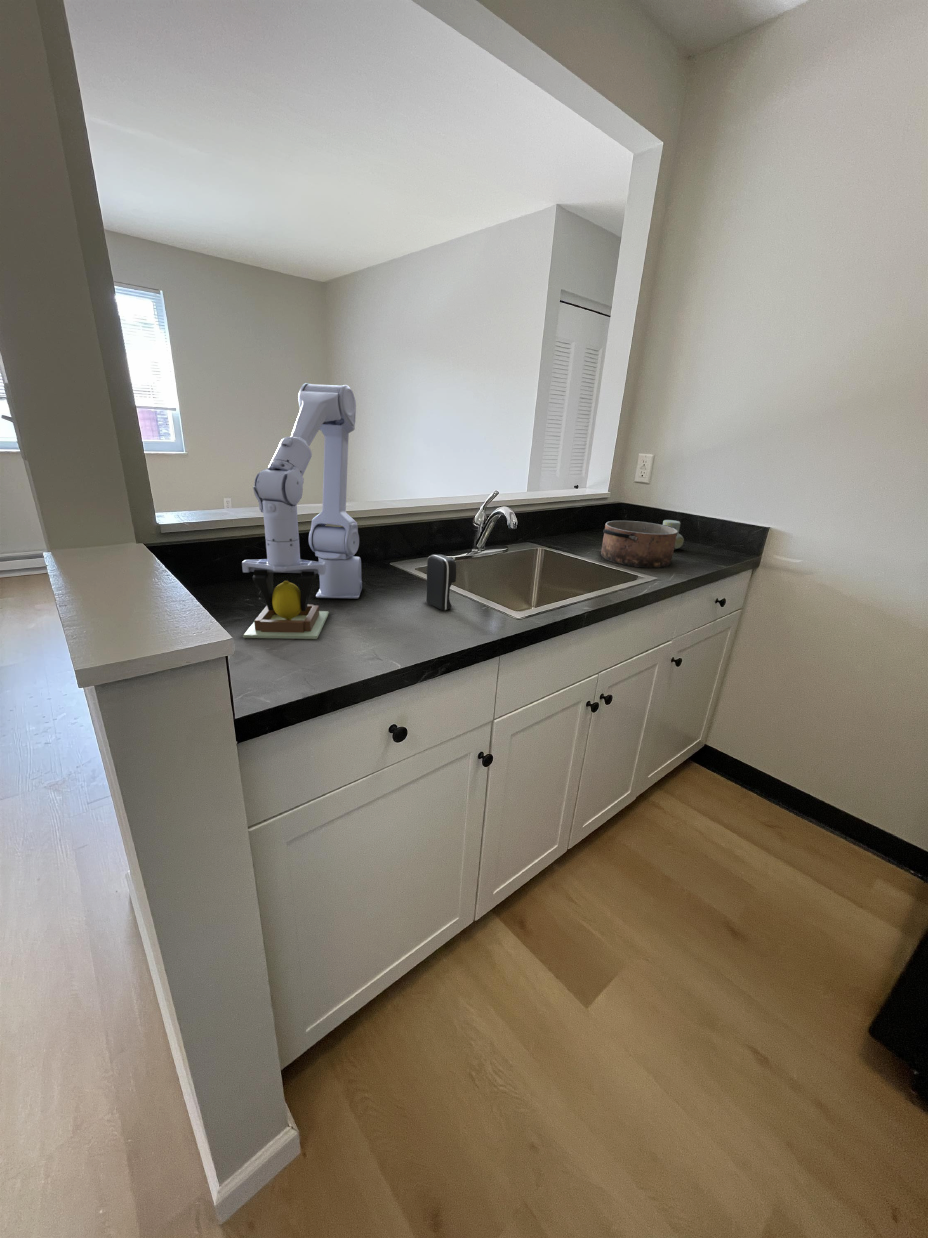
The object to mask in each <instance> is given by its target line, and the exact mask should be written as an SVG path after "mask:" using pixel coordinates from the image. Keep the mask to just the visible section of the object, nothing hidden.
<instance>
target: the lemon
mask: <svg viewBox="0 0 928 1238" xmlns="http://www.w3.org/2000/svg"><path fill="white" fill-rule="evenodd" d="M272 606H273V609H274V611H275V612H276V614H277V615H279V616H280V617H282V618H285V619H286V620H291V619H292V618H293V617H296V616H297V615H298V614H299V613H300V611H301V593H300V587H299V586H297V585H296V584H295V583H293V582H290V581H289V580H284V581H283V582H281V583H279V584H277V586H275V587H274V588H273V595H272Z"/></svg>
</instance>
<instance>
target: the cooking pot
mask: <svg viewBox="0 0 928 1238" xmlns="http://www.w3.org/2000/svg"><path fill="white" fill-rule="evenodd" d="M602 532H603V538H602V545H601V550H600V555H601V557H602V558H603V559H605V560H606V561H609V562H612V563H614V564H618V565H622V566H628V567H634V568H641V569H642V568H644V569H660V568H661V569H662V568H665V567H668V566H669V565H671V564H672V561H673V556H674V551H675V550H674V547H675V542H676V537H677V532H678V531H677V530H676V528H675V527H671V526H666V525H663V524H659V523H653V522H647V521H638V520H637V521H635V520H611V521H607V522H606V523H605V525H604V529H603V531H602Z"/></svg>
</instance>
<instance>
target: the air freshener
mask: <svg viewBox="0 0 928 1238" xmlns="http://www.w3.org/2000/svg"><path fill="white" fill-rule="evenodd" d="M662 525H666V526H671V527H675V528H676V530H677V531H678V532H677V537H676V542H675V547H674V551H676V550H677V549H680V548H681V547H682V546H683V545H684V542H685V538H684V537H683V535H682V534H681V533H679V532H680V527H681V521H679V520H673V519H664V520H663V521H662Z"/></svg>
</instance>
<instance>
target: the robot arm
mask: <svg viewBox="0 0 928 1238" xmlns="http://www.w3.org/2000/svg"><path fill="white" fill-rule="evenodd" d="M297 397H298V398H297V399H298V400H297V401H298V407H299V412H298V415H297V418H296V421H295V423H294V426H293V429H292V431H291V435H290V436H285V437H283V438H282V439H281V440H280V442H279V444H278V447H277V449H276V450H275V453H274V455H273V457H272V459H271V461H270V462H269V464H268V467H267V468H265V469H262V470H261V471H260V472H258V473H257V474H256V475H255V478H254V482H253V483H254V484H253V487H252V489H253V494H254V496H255V498H256V500H257V502H258V508H259V510H260V513H262V515H263V516H262V517H263V524H264V537H265V549H266V558H261V559H244V560H243V561H242V562H241V567H242V573H250V572H251V573H252V572H253V576H252V581H253V582H254V584H255V585H256V586H257V588H258V589H259V591H260V593H261V594H262V596H263V599H264V602H265V603H266V606H267V607H268V610H273V606H272V595H273V591H274V573H284V574H285V573H288V574H290V573H292V574H300V575H298V577H297V580H298V581H297V582H298V587H299V589H300V593H301V611H306V609H307V604H309V596H310V593H311V590H312V586H313V584H314V581H315V579H316V577H317V575H318V576H319V589H318V591H317V592H316V594H315V598H317V599H352V600H353V599H354V600H355V599H356V600H357V599H360V596H361V592H362V589H363V581H362V580H363V579H362V559H361V557H360V556H355V554H357V552H358V550H359V547H360V535H359V527H358V522H357V521H356V520H355V519H354V518H353V517H351V516H350V514H348V513H347V491H348V490H347V489H348V487H347V486H348V464H349V463H348V461H349V439H350V437H349V436H350V435H349V434H350V433H352V432H354V431H355V429H356V428H355V427H356V419H357V418H356V416H357V415H356V414H357V401H356V397H355V394H354V392H353V390H352V388H351V387H350V386H349V385H348V384H343V385H338V384H337V385H336V384H315V383H308V382H305V383H303V384H302V385H301V387H300V388H299V392H298V395H297ZM319 431H320V432H321V433H322V434H323V437H324V439H323V441H324V442H323V473H322V475H323V476H322V507H321V508H322V509H321V511H320V512H319V513H318V514H316V515H315V516H314V517H313V518H312V519H311V525H310V530H309V533H308V545H309V547H310V549H311V551H312V552H313V553H314V555H315V557H317V558H318V561H315V560H308V559H302V558H301V547H300V535H299V520H298V519H299V518H298V504H299V502H301V499H302V497H303V490H304V488H303V487H304V481H305V478H304V477H303V476H304V474H305V472H306V470H307V468H308V466H309V463H310V461H311V459H312V455H313V453H312V450H311V448H310V446H311V444H312V442H313V441H314V439H315V438H316V437H317V434H318V432H319ZM331 525H333V526H331Z"/></svg>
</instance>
